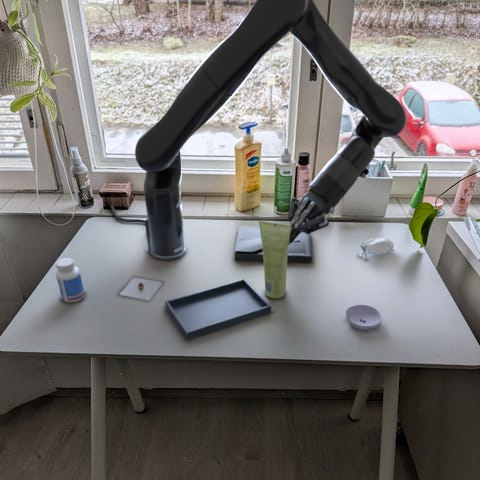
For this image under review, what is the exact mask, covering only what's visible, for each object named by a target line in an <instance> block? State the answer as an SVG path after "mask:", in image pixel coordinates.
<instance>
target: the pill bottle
mask: <svg viewBox="0 0 480 480" xmlns="http://www.w3.org/2000/svg"><path fill="white" fill-rule="evenodd" d="M55 266H56V269H57V270H56V271H55V278H56V282H57V285H58V289H59V292H60V296H61V298H62V300H63V301H64V302H66V303H76V302H79V301H81V300H82V299H84V297H85V295H86V294H85V289H84V284H83V279H82V275H81V272H80V268H78V267H77V266H76V264H75V261H74V259H73V258H70V257H63V258H60V259H58V260H56V262H55Z"/></svg>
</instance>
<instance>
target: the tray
mask: <svg viewBox="0 0 480 480" xmlns="http://www.w3.org/2000/svg"><path fill="white" fill-rule="evenodd" d="M164 307H165V309H166V312H167V313H168V314H169V315H170V316H171V318H172V320H173V321H174V322H175V324H176V326H177V327H178V328H179V330H180V331H181V333H182V334H183V336H184V337H185V339H186V340H190V339H194V338H197V337H201V336H204V335H206V334H210V333H213V332H216V331H218V330H221V329H224V328H227V327H231V326H234V325H237V324H240V323H243V322H247V321H249V320H253V319H255V318H258V317H262V316H265V315H267V314H271V313H272V305H271V304H270V303H269V302H268V300H267V299H265V298H264V297H263V296H262V295H261V294H260V292H259V291H257V289H256V288H254V287H253V286H252V284H251V283H250V282H249V281H248V280H247V279H246V278H245V277H244V278H241V279H237V280H233V281H230V282H227V283H223V284H219V285H216V286H212V287H210V288H206V289H203V290H199V291H195V292H192V293H188V294H186V295H182V296H179V297H178V296H177V297H175V298H171V299H168V300H165V301H164Z"/></svg>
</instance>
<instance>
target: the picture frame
mask: <svg viewBox="0 0 480 480" xmlns="http://www.w3.org/2000/svg"><path fill="white" fill-rule="evenodd" d="M237 229H238V230H237V235H236V242H235V246H234V261H243V262H244V261H247V262H248V261H249V262H264V261H263V250H262V241H261V233H260V227H259V226H250V225H249V226H248V225H247V226H245V225H238V228H237ZM287 263H295V264H296V263H297V264H313V246H312V233H310V234H306V233H300V234H299V235H298V236H297V238H296V239H295V240H294V241H293V242H292V243H290V244H289V245H288V256H287Z"/></svg>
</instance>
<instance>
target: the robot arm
mask: <svg viewBox="0 0 480 480" xmlns="http://www.w3.org/2000/svg"><path fill="white" fill-rule="evenodd" d="M288 34H291V35H292V36H293V37H294V38H295V39H296V40H297V41H298V42H299V43H300V44H301V45H302V46H303V47H304V49H305V50H306V51H307V52H308V54H309V55H310V56H311V58H312V59H313V61H314V62H315V64H316V66H317V67H318V68H319V70H320V71H321V73H322V74H323V76H324V77H325V78H326V80H327V81H328V83H329V84H330V86H331V87H332V88H333V90H334V91H335V92H336V93H337V94H338V95H339V96H340V98H342V100H343V101H344V102H345V103H346V104H347V105H348V106H349V107H350V108H352V109H354V110H357V111H359V112H360V113H361V114H362V116H361V118H360V119H359V120H358V123H357V124H356V126H355V127H354V129H353V131H352V132H351V135H350V137H349V138H348V139H347V140H346V142H344V144H343V145H342V146H341V148H340V149H339V150H338V151H337V152H336V154H335V155H334V156H332V158H331V159H330V160H329V161H328V162H327V163H326V164H325V165H324V167H323V168H322V169H321V170H320V172H319V173H318V174H317V175H316V177H315V178H314V179H313V180H312V181H311V183H310V184H309V186H308V188H309V189H308V191H307V192H306V193H305V194H303V195H302V197H300V198H297V197H295V196H293V197H292V198H291V200H290V205H289V209H288V214H287V220H288V221H289V225H291V231H290V237H289V244H290V243H292V242H293V241H294V240H295V239H296V238H297V236H298V235H299V234H300V233H306V234H310V233H311V234H312V233H314V232H317V231H319V230H322V229H324V228H327V227H329V225H330V222H329V221H328V217H327V215H328V214H329V213H330V210H331V209H332V208H336V206H337V205H338V204H339V203H340V202H341V201H342V199H343V198H344V197H345V196H346V194H347V193H348V192H349V191H350V190H351V188H352V187H353V186H354V185H355V183H356V182H357V180H358V179H359V178H360V176H361V174H362V173H364V171H365V170H366V169H367V167H369V165H370V164H371V163H372V161H373V160H374V158H375V155H376V148H377V147H378V145H379V144H380V142H381V141H382V140H383V139H384V138H392V137H395V136H397V135H399V134H401V133H402V131H403V130H404V129H405V127H406V125H407V119H408V118H407V113H406V109H405V107H404V106H403V104H402V103H401V102H400V101H399V100H398V99H397V98H396V97H395V96H394V95H393V94H392V93H390V92H389V91H388V90H387V89H386V88H385V87H383V86H382V85H381V84H379V83H378V82H377V81H376V80H375V79H374V77H373V76H372V75H371V73H370V72H369V71H368V69H366V67H365V66H364V64H362V62H361V61H360V60H359V59H358V58H357V57H356V56H355V54H354V53H353V52H352V51H351V50H350V49H349V47H347V45H346V44H345V43H344V42H343V41H342V40H341V38H340V37H339V36H338V35H337V34H336V32H335V31H334V30H333V29H332V27H331V26H330V25H329V23H328V22H327V21H326V19H325V17H324V16H323V15H322V14H321V12H320V9H318V7H317V5H316V4H315V2H314V0H255V1H254V4H253V5H252V6H251V8H250V10H249V11H248V12H247V13H246V15H245V17H244V18H243V20H242V21H241V22H240V24H239V25H238V26H237V27H236V29H235V30H233V32H231V34H230V35H229V36H227V37H226V38H225V39H224V40H223V41H222V42H220V43H219V44H218V45H217V46H216V47H215V48H214V49H213V50H212V51H211V52H210V53H209V54H208V55H207V56H206V57H205V59H204V60H203V61H202V62H201V63H200V64H199V66H198V67H197V68H196V69H195V71H194V72H193V73H192V74H191V76H190V77H189V79H188V80H187V81H186V83H185V84H183V87H182V89H181V90H180V92H178V94H177V95H176V97H175V98H174V100H173V101H172V103H171V105H170V107H169V108H168V110H167V111H166V112H165V113H164V115H162V117H161V119H159V120H158V121H157V122H156V123H155V124H154V125H153V126H150V127H149V129H147V130H146V131H145V132H144V133H143V134H142V135H141V136H140V137H139V139H138V140H137V142H136V144H135V148H134V156H135V161H136V163H137V165H138V166H139V168H141V169H142V170H143V171H145V178H144V182H143V192H144V193H143V194H144V201H145V210H146V217H147V218H146V219H138V218H123V217H121V216H119V215H118V214H117V212H116V210H115V207H114V204H113V205H110V204H109V206H110V210H111V212H112V214H113V216H114V218H115V219H117V220H118V221H120V222H125V223H142V224H144V225H145V234H146V241H147V242H146V243H147V250H148V253H150V254H151V256H153V257H154V258H156V259H158V260H162V261H163V260H164V261H167V260H169V261H170V260H176V259H178V258H181V257H183V256H184V254H185V253H186V245H185V230H184V215H183V204H182V191H181V184H182V179H183V178H182V177H183V172H182V171H183V169H182V151H181V150H182V148H183V147H184V145H185V144H186V143H187V142H188V141H189V139H191V137H192V136H193V135H194V134H195V133H197V132H198V131H199V130H201V128H203V127H204V126H205V125H207V124H208V122H209V121H210V120H211V119H212V118H213V117H215V116H216V115H217V114H218V113H219V112H220V111H221V110H222V109H223V108H224V107H225V106H226V104H227V103H228V102H229V101H230V100H231V99H232V98H233V97H234V96H235V94H237V92H238V91H239V89H241V87H242V86H243V85H244V83H245V82H246V81H247V79H248V78H249V77H250V75H251V73H252V72H253V71H254V70H255V68H256V66H257V65H258V63H259V62H260V61H261V60H262V59H263V57H264V56H265V55H266V54H267V53H269V51H270V50H271V49H272V48H273V47H274V46H275V45H277V44H278V43H279V42H280V41H281V40H282V39H283V38H284V37H285V36H287V35H288Z"/></svg>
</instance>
